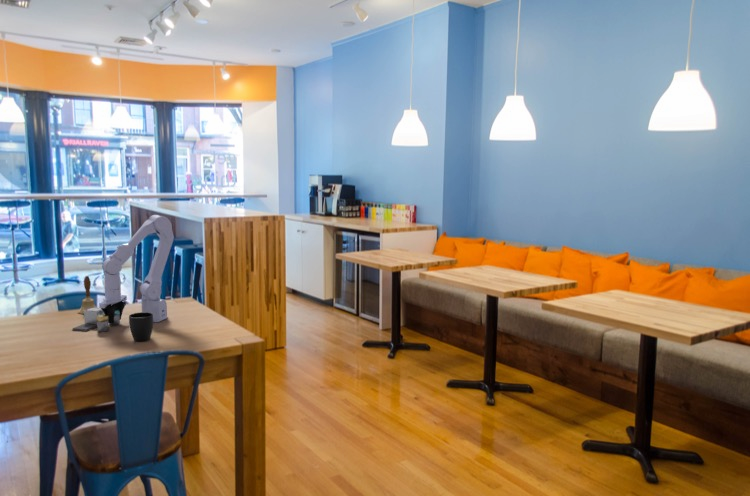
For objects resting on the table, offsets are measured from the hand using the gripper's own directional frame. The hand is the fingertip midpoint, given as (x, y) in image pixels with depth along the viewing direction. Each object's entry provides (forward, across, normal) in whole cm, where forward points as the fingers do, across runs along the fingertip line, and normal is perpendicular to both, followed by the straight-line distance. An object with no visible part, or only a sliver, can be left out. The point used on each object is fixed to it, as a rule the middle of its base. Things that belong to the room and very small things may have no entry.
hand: (114, 321), depth 224 cm
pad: (+1, +8, -8) cm, 11 cm away
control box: (+1, +2, -8) cm, 8 cm away
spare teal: (+1, 0, 0) cm, 1 cm away
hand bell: (+2, -15, -24) cm, 28 cm away
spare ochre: (+1, +9, +2) cm, 9 cm away
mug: (+2, +13, +22) cm, 25 cm away
